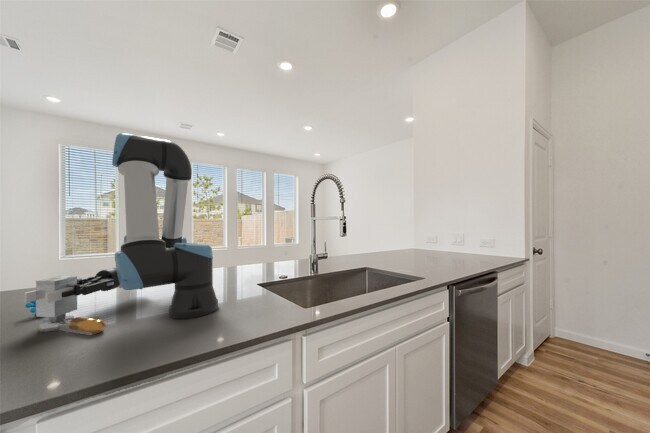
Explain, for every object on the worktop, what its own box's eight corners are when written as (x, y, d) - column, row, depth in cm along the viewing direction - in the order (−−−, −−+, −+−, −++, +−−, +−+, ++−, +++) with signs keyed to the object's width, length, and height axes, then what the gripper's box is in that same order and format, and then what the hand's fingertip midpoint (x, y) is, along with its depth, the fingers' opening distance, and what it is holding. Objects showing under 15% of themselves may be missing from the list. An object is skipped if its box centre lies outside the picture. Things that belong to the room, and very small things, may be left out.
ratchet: (115, 328, 74) (115, 311, 74) (87, 339, 67) (87, 320, 67) (64, 321, 80) (64, 305, 80) (33, 330, 73) (33, 313, 73)
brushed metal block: (77, 309, 79) (77, 276, 79) (54, 317, 73) (54, 281, 73) (59, 309, 79) (59, 276, 79) (36, 316, 73) (36, 280, 73)
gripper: (137, 289, 93) (66, 312, 70) (90, 288, 95) (6, 310, 72) (137, 268, 93) (66, 285, 70) (89, 267, 95) (6, 284, 72)
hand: (36, 298), depth 71 cm, fingers closed on brushed metal block, 6 cm apart
